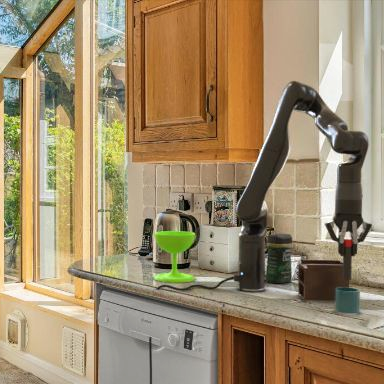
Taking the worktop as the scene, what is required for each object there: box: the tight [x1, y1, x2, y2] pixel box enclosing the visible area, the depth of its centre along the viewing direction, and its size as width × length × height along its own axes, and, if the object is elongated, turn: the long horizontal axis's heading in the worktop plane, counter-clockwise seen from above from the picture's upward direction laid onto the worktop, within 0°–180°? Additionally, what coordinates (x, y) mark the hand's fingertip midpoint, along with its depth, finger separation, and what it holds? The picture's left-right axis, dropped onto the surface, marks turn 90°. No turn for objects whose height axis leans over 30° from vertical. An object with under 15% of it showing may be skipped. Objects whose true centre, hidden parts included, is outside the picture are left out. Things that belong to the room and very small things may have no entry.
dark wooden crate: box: [297, 259, 350, 302], centre depth 196 cm, size 14×11×12 cm
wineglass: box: [153, 230, 196, 284], centre depth 232 cm, size 16×16×18 cm
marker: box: [342, 238, 353, 281], centre depth 177 cm, size 2×2×12 cm
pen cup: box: [334, 286, 361, 315], centre depth 177 cm, size 7×7×7 cm
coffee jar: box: [265, 232, 293, 284], centre depth 226 cm, size 10×8×19 cm
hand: (347, 255), depth 177 cm, fingers closed on marker, 2 cm apart
